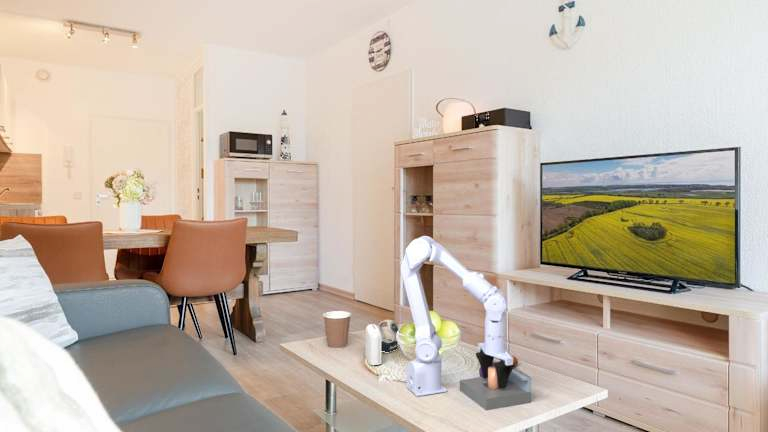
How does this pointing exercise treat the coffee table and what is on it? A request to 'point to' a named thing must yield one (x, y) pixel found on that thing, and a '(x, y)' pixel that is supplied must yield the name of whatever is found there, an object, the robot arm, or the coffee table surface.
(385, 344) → the watch
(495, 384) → the peg
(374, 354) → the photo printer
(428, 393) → the robot arm
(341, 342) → the coffee cup
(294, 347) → the coffee table surface
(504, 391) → the socket
